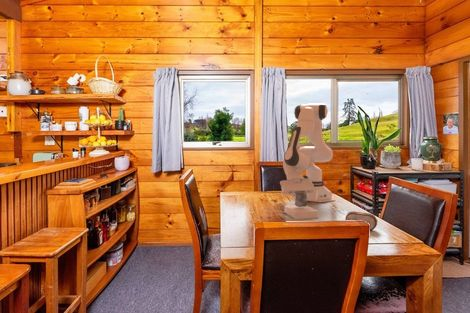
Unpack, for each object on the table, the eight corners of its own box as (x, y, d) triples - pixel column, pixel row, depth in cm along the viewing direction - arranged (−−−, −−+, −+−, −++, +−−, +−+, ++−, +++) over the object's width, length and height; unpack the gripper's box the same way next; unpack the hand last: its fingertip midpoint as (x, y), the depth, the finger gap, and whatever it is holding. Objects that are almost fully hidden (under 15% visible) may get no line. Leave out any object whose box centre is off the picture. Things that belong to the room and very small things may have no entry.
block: (302, 204, 188) (303, 193, 188) (306, 206, 183) (306, 194, 183) (295, 205, 187) (295, 193, 187) (298, 206, 182) (298, 195, 182)
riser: (305, 211, 195) (305, 204, 195) (317, 217, 179) (318, 210, 179) (284, 212, 192) (284, 205, 191) (295, 219, 176) (295, 212, 176)
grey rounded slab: (377, 230, 156) (377, 214, 156) (376, 232, 153) (376, 215, 153) (345, 226, 164) (346, 210, 163) (344, 227, 161) (345, 211, 160)
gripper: (280, 177, 188) (286, 196, 180) (311, 176, 193) (318, 195, 184) (277, 183, 193) (283, 202, 184) (308, 182, 198) (315, 200, 189)
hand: (301, 198), depth 184 cm, fingers closed on block, 5 cm apart
